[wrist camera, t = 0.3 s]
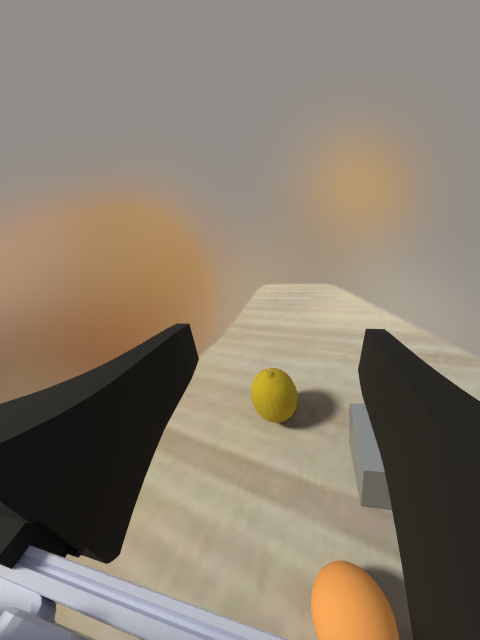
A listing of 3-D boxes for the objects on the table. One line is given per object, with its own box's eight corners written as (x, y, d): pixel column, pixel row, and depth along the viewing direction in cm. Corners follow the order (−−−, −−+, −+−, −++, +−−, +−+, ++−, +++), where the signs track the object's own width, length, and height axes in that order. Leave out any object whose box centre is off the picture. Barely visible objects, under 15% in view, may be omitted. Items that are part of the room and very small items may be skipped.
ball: (407, 704, 14) (421, 707, 11) (316, 674, 15) (309, 670, 12) (381, 578, 18) (387, 559, 15) (312, 564, 19) (306, 544, 16)
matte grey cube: (440, 516, 20) (460, 478, 16) (361, 505, 21) (363, 470, 18) (412, 444, 24) (422, 404, 21) (349, 441, 26) (349, 403, 23)
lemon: (303, 400, 32) (296, 357, 28) (296, 439, 28) (288, 395, 24) (264, 395, 34) (253, 354, 30) (253, 430, 30) (238, 388, 26)
